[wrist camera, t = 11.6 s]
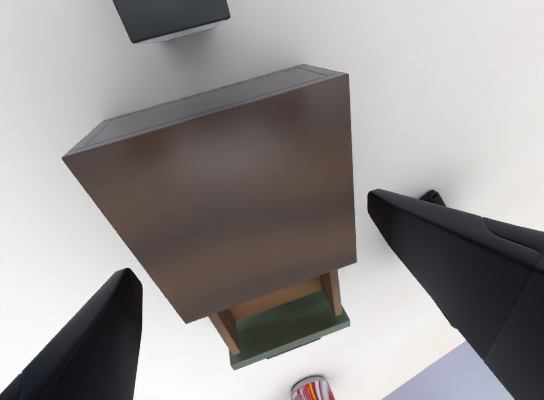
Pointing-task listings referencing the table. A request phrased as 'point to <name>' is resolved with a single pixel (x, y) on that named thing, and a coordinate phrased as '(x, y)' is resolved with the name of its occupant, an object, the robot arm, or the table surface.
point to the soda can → (312, 389)
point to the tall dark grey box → (169, 17)
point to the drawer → (282, 320)
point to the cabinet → (230, 187)
